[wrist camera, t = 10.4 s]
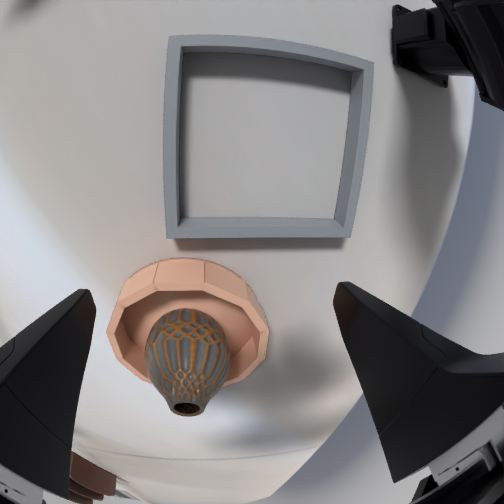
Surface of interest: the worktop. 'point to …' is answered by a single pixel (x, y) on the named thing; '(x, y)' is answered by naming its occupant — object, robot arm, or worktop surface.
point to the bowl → (195, 297)
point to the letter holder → (89, 481)
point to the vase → (187, 359)
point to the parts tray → (259, 225)
